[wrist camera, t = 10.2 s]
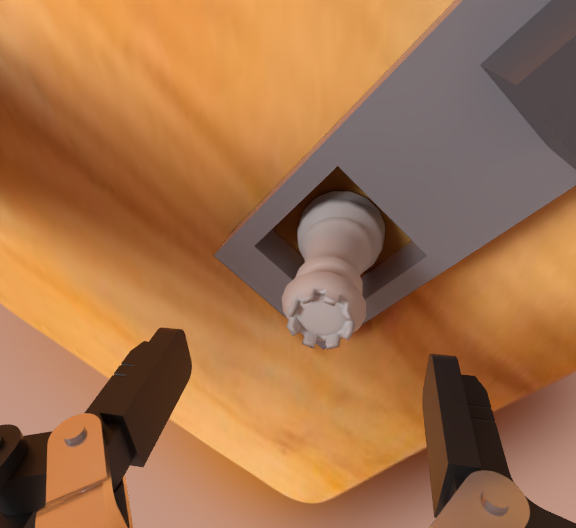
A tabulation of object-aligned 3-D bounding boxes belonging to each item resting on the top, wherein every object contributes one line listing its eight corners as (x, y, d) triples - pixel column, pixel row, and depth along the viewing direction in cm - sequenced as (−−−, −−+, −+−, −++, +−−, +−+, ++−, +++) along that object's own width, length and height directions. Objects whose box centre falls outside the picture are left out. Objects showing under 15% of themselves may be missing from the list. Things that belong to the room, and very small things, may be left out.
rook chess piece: (285, 236, 22) (240, 329, 16) (328, 170, 20) (296, 247, 13) (353, 277, 23) (337, 385, 16) (404, 217, 20) (409, 315, 14)
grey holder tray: (329, 321, 25) (307, 425, 18) (229, 234, 23) (169, 314, 17) (794, -2, 13) (1142, -17, 7) (667, -220, 12) (978, -486, 6)
